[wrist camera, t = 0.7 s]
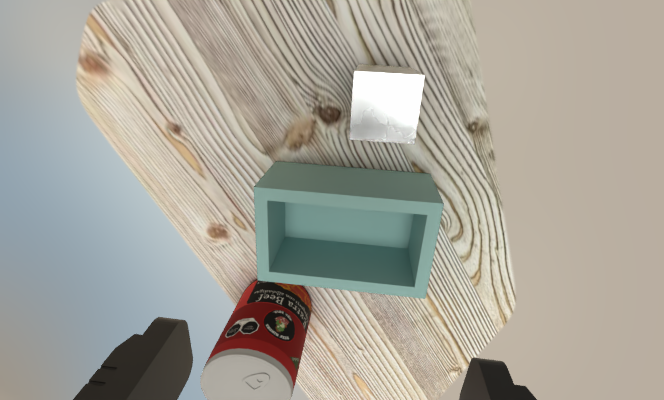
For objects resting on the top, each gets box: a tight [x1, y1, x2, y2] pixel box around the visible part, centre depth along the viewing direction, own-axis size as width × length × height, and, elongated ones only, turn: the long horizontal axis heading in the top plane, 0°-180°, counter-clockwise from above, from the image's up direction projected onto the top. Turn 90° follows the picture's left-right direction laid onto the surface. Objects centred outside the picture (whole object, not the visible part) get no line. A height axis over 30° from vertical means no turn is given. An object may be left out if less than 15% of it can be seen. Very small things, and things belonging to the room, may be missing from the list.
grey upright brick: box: [349, 64, 425, 144], centre depth 25 cm, size 4×4×9 cm
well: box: [254, 161, 444, 299], centre depth 31 cm, size 8×14×7 cm, turn 87°
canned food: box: [200, 280, 311, 400], centre depth 34 cm, size 8×8×11 cm
